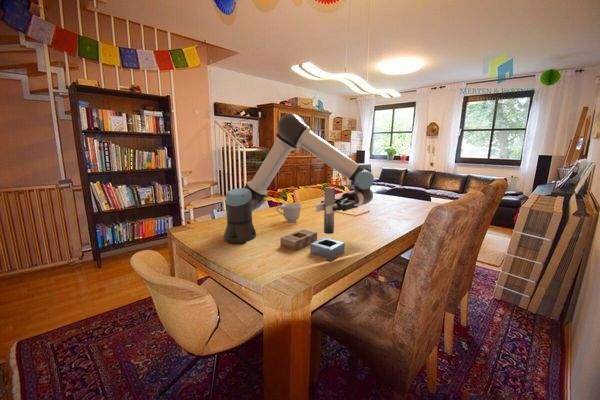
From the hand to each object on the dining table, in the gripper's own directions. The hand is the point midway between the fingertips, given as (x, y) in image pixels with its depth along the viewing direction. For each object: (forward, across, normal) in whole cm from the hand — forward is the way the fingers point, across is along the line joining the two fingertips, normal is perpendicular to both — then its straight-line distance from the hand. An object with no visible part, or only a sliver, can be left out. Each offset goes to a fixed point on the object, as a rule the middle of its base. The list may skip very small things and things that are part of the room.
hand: (321, 209), depth 97 cm
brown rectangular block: (-5, +15, -20) cm, 26 cm away
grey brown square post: (-5, 0, -10) cm, 12 cm away
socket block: (-5, 0, -20) cm, 21 cm away
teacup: (-31, +44, -20) cm, 58 cm away
